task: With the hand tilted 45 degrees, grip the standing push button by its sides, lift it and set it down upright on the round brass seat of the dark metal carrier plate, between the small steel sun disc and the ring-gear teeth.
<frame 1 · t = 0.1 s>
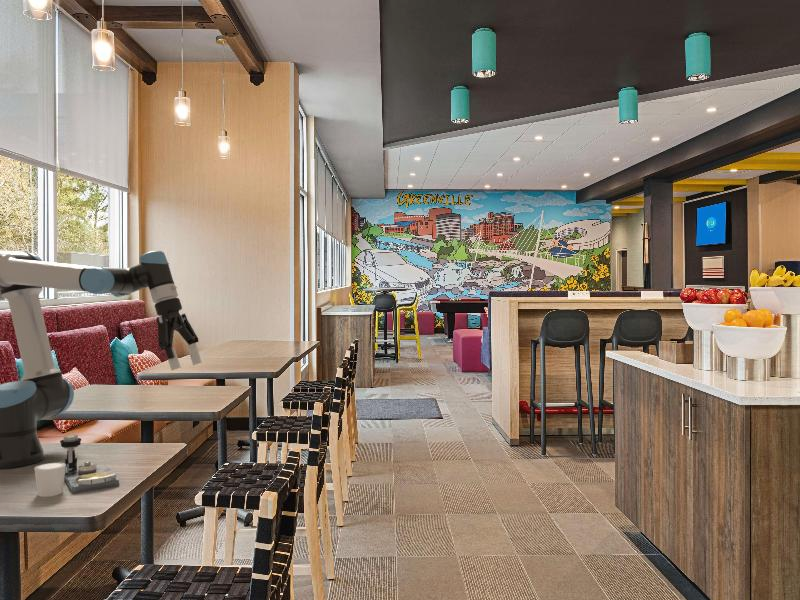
hand: (187, 366, 195), 28 cm above the table, tool tilted 20°, fingers open, 13 cm apart
white tapered cup: (50, 494, 161), on the table
carrier plate: (91, 481, 170), on the table
push button: (70, 473, 179), on the table
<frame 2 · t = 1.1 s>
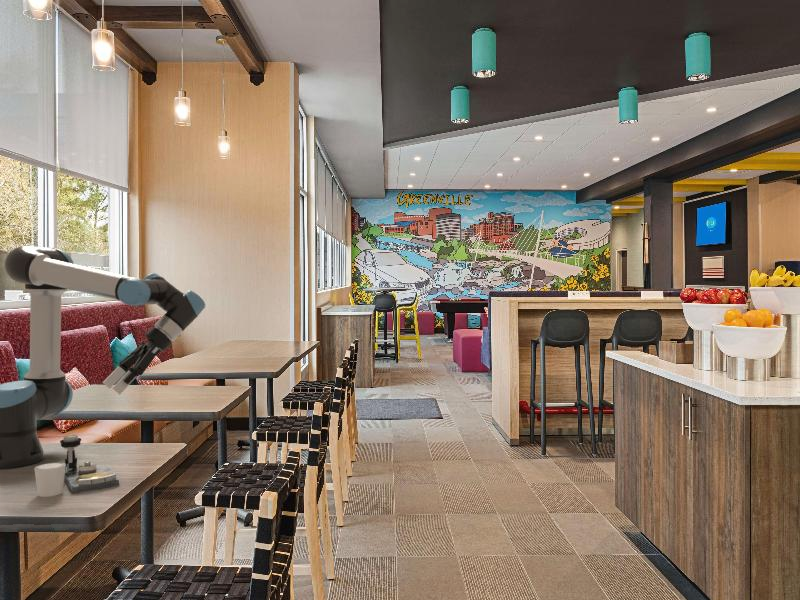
hand: (110, 388, 185), 23 cm above the table, tool tilted 45°, fingers open, 13 cm apart
nothing on the table moved.
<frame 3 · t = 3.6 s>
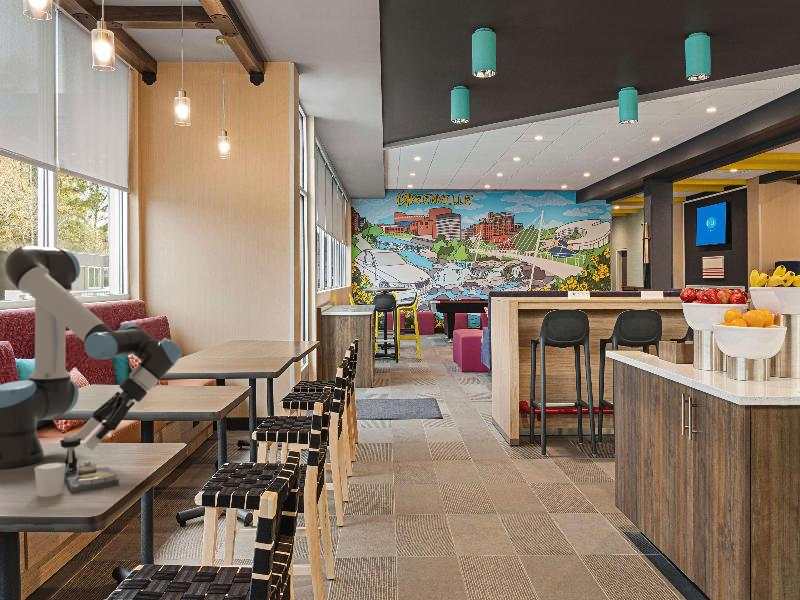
hand: (83, 442, 180), 8 cm above the table, tool tilted 45°, fingers open, 13 cm apart
nothing on the table moved.
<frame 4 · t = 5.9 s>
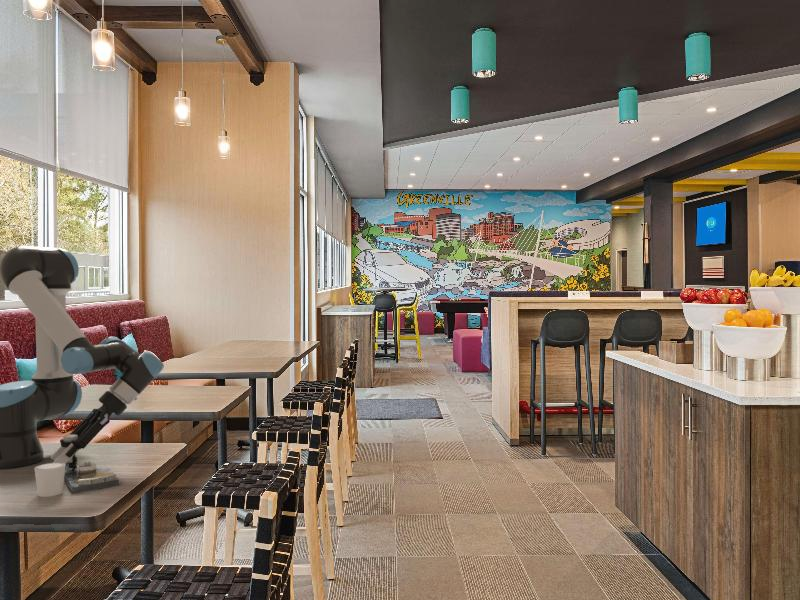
hand: (55, 462, 177), 3 cm above the table, tool tilted 45°, fingers closed on push button, 5 cm apart
push button: (71, 472, 179), on the table, touching gripper
everything else where it was.
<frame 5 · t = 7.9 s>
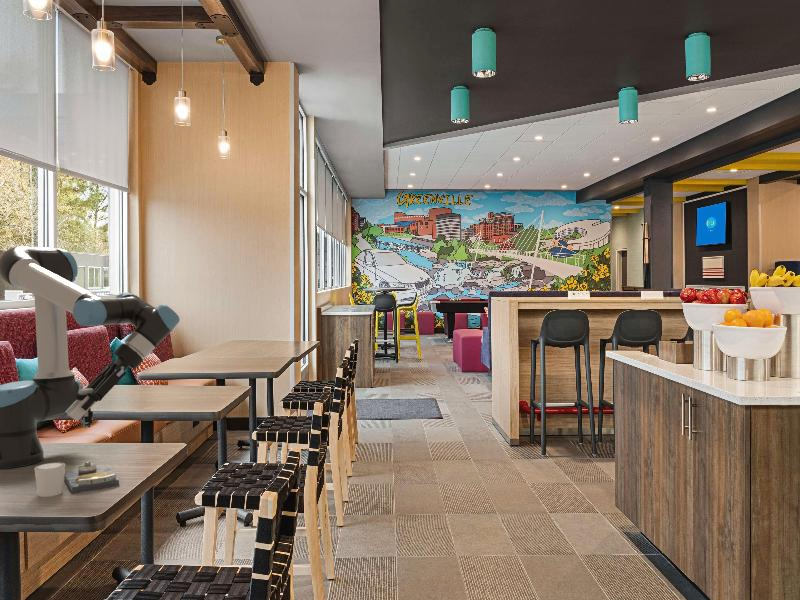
hand: (71, 416, 171), 17 cm above the table, tool tilted 45°, fingers closed on push button, 5 cm apart
push button: (86, 427, 173), point 14 cm above the table, touching gripper
everything else where it was.
when the fingers open (7 cm above the table, at t = 10.4 s): push button drops 2 cm, resting on carrier plate.
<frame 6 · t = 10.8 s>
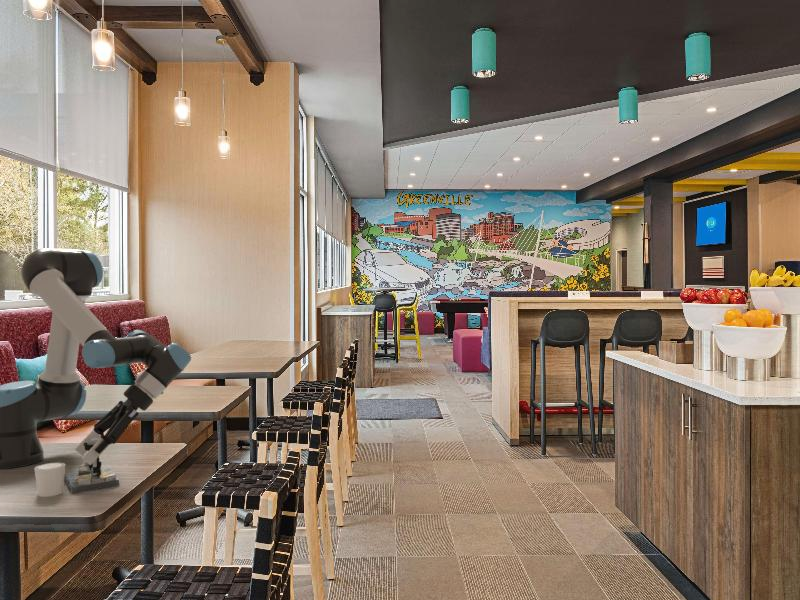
hand: (82, 457, 167), 8 cm above the table, tool tilted 45°, fingers open, 10 cm apart
push button: (95, 478, 169), point 2 cm above the table, touching carrier plate
everything else where it was.
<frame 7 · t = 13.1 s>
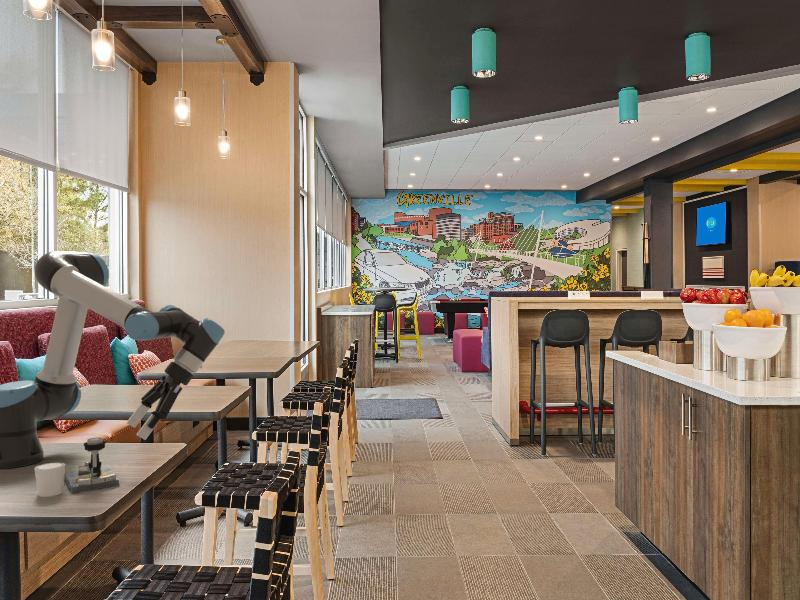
hand: (135, 431, 176), 12 cm above the table, tool tilted 40°, fingers open, 13 cm apart
nothing on the table moved.
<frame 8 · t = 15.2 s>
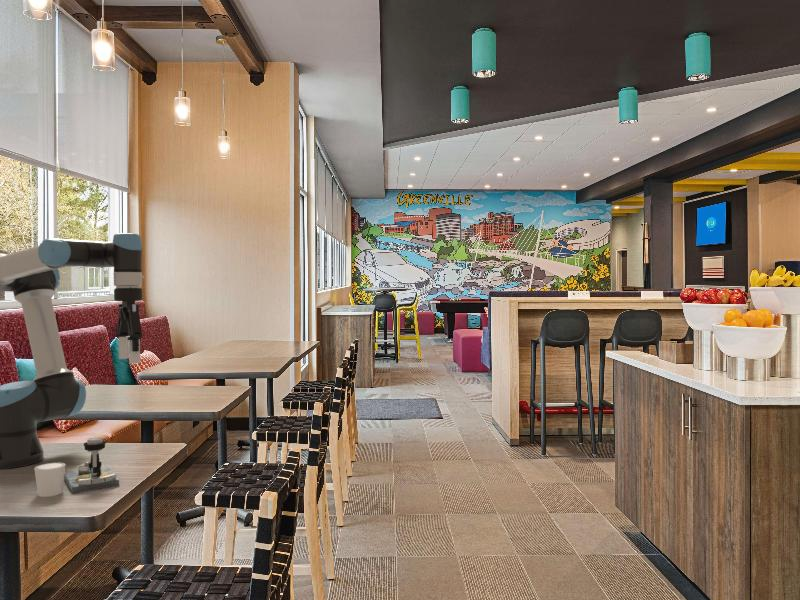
hand: (129, 360, 184), 31 cm above the table, tool pointing down, fingers open, 13 cm apart
nothing on the table moved.
at the end: push button inside the target area on the carrier plate (0.2 cm from its centre), point 1.6 cm above the carrier plate's base; push button tilted 0°; the gripper is holding nothing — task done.
